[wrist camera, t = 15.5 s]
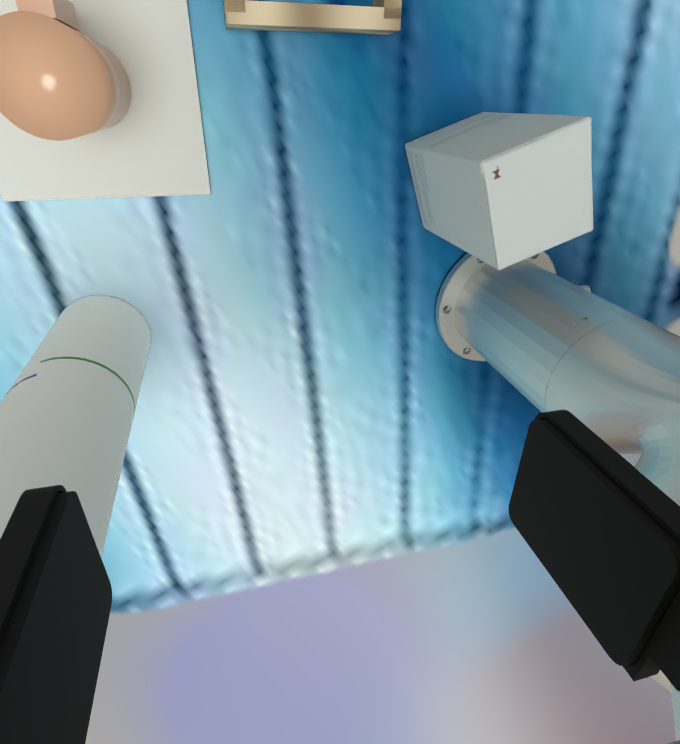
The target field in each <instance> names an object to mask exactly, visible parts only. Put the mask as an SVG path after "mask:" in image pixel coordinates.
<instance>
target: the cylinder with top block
mask: <svg viewBox="0 0 680 744" xmlns="http://www.w3.org/2000/svg"><path fill="white" fill-rule="evenodd" d="M15 1H16V5H17V8H18V11H14V12H9V13H6V14H3V15H1V16H0V112H1V113H2V114H3V115H4V116H5V117H6V118H7V119H8V120H9V121H10V122H11V123H13V124H14V125H15V126H17V127H18V128H20V129H21V130H23V131H25V132H27V133H29V134H31V135H33V136H36V137H39V138H42V139H47V140H56V141H61V140H69V139H73V138H77V137H80V136H84V135H87V134H90V133H94V132H97V131H101V130H104V129H108V128H110V127H113V126H115V125H116V124H118V123H119V122H120V121H121V120H122V119H123V118H124V117H125V115H126V113H127V111H128V109H129V106H130V101H131V88H130V83H129V79H128V76H127V73H126V71H125V69H124V67H123V66H122V64H121V63H120V61H119V60H118V59H117V57H116V56H115V55H114V54H113V53H112V52H111V51H110V50H109V49H107V48H106V47H105V46H103V45H102V44H100V43H98V42H97V41H95V40H93V39H91V38H89V37H87V36H85V35H83V34H81V33H80V32H78V31H80V29H79V25H78V20H77V16H76V11H75V7H74V4H73V3H71V2H70V1H69V0H15Z"/></svg>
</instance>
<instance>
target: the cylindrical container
mask: <svg viewBox="0 0 680 744" xmlns="http://www.w3.org/2000/svg"><path fill="white" fill-rule="evenodd" d="M150 343H151V334H150V329H149V326H148V324H147V322H146V320H145V319H144V317H143V316H142V314H141V313H140V312H139V311H138V310H137V309H135V308H134V307H133V306H131V305H130V304H129V303H127V302H125V301H123V300H121V299H117V298H114V297H111V296H103V295H94V296H87V297H83V298H80V299H78V300H76V301H74V302H72V303H71V304H70V305H68V306H67V307H66V308H65V309H64V311H63V312H62V313H61V315H60V316H59V318H58V319H57V321H56V322H55V324H54V325H53V327H52V328H51V329H50V331H49V332H48V334H47V335H46V337H45V338H44V340H43V341H42V343H41V344H40V346H39V347H38V349H37V350H36V352H35V353H34V355H33V356H32V357H31V359H30V360H29V362H28V363H27V365H26V366H25V368H24V369H23V371H22V372H21V374H20V375H19V377H18V378H17V379H16V381H15V382H14V384H13V385H12V387H11V388H10V390H9V391H8V393H7V394H6V396H5V397H4V399H3V400H2V401H1V403H0V538H1V536H2V534H3V532H4V530H5V528H6V526H7V524H8V521H9V519H10V517H11V515H12V513H13V511H14V509H15V507H16V504H17V502H18V500H19V498H20V496H21V494H22V493H23V492H24V491H25V490H28V489H35V488H42V487H48V486H55V485H62V486H63V487H65V489H66V491H67V492H69V491H75V492H76V493H77V495H78V497H79V500H80V503H81V505H82V508H83V511H84V513H85V516H86V519H87V522H88V524H89V527H90V530H91V532H92V535H93V538H94V540H95V543H96V546H97V549H98V551H99V554H100V557H101V556H102V552H103V547H104V543H105V539H106V534H107V530H108V526H109V521H110V517H111V513H112V508H113V504H114V500H115V495H116V491H117V486H118V482H119V478H120V473H121V469H122V465H123V460H124V456H125V452H126V447H127V443H128V439H129V434H130V430H131V426H132V421H133V417H134V413H135V408H136V404H137V400H138V395H139V391H140V387H141V382H142V378H143V374H144V370H145V365H146V361H147V357H148V352H149V348H150Z"/></svg>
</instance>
